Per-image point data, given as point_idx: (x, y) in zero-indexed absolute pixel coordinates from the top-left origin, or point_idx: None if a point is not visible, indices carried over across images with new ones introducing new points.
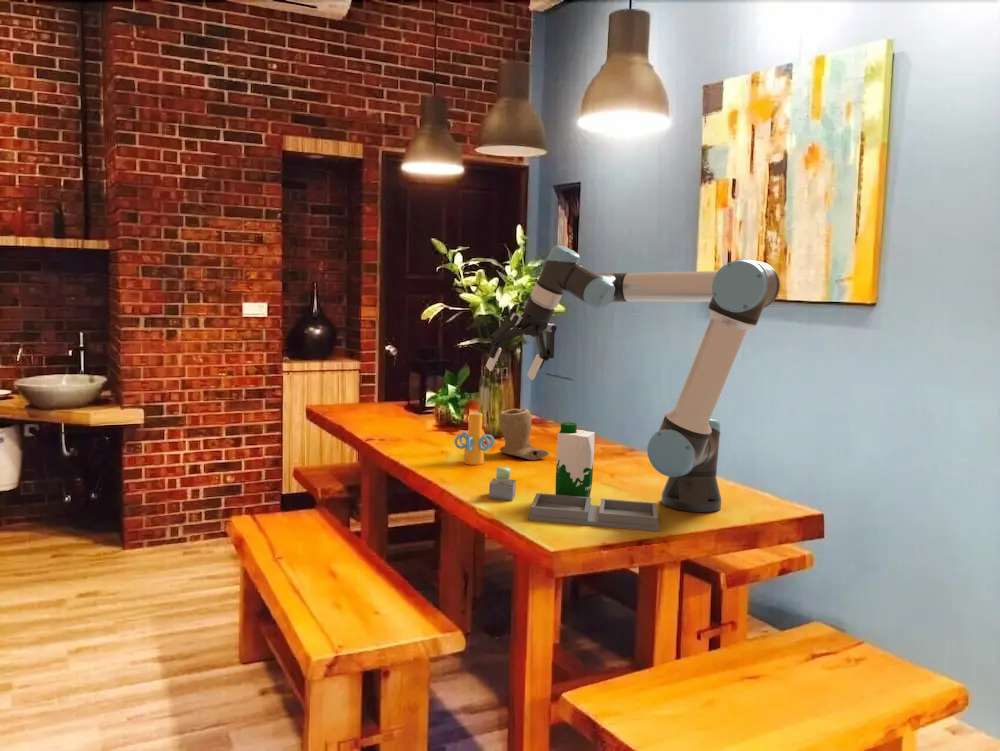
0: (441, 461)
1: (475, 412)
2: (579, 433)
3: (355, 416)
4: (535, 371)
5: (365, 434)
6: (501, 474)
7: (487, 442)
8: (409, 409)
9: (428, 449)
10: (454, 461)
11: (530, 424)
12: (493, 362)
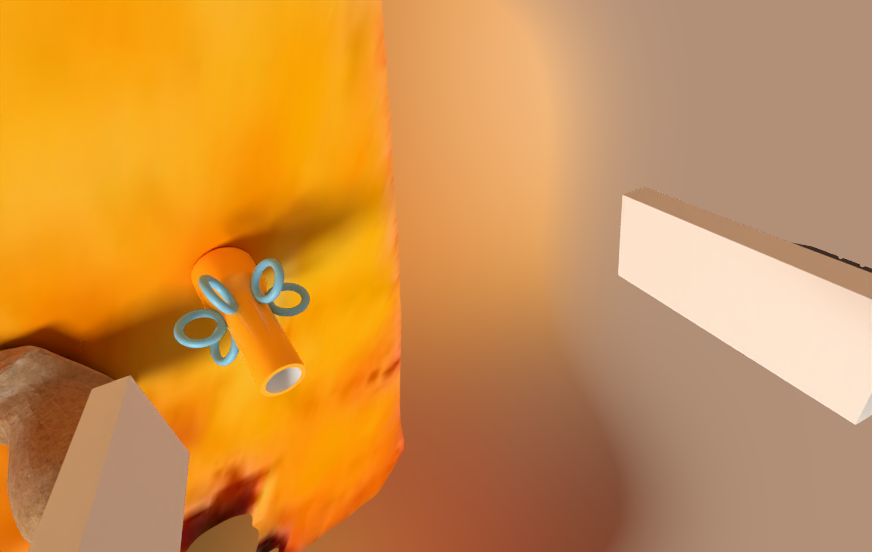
0: (307, 263)
1: (280, 394)
2: None
3: (367, 468)
4: (93, 478)
5: (387, 393)
6: None
7: (212, 289)
8: (279, 545)
9: (310, 350)
10: None
11: (13, 484)
12: (719, 218)
